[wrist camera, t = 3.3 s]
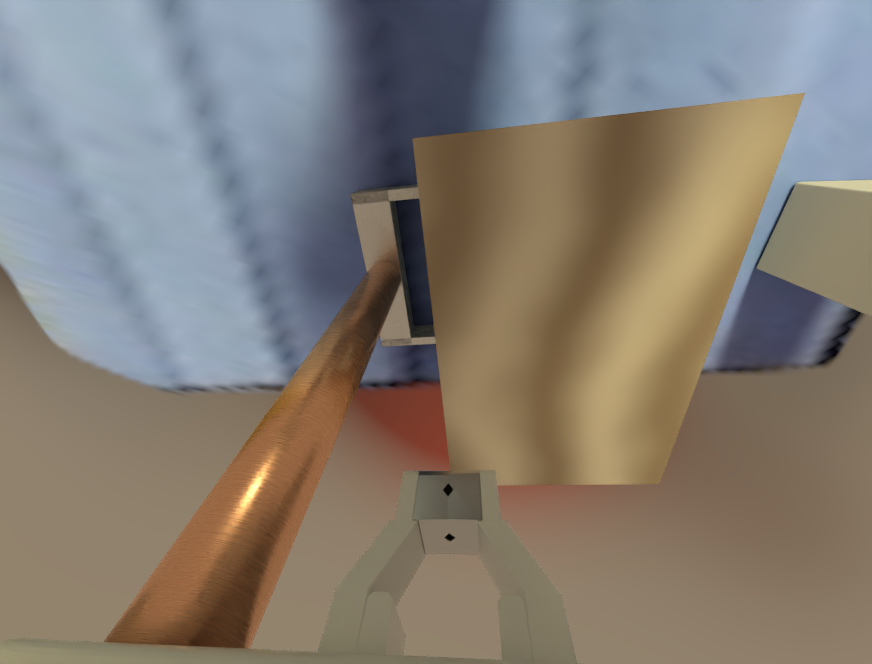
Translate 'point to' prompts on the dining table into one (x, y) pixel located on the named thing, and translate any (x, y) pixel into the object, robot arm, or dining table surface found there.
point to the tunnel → (587, 280)
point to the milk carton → (826, 242)
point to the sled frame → (278, 462)
